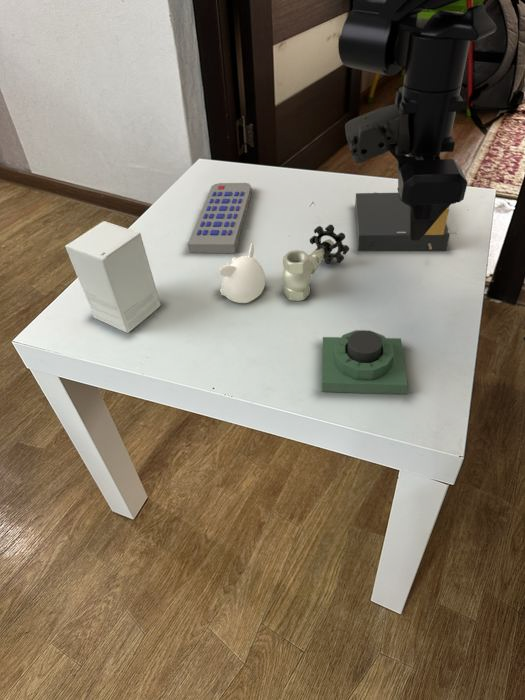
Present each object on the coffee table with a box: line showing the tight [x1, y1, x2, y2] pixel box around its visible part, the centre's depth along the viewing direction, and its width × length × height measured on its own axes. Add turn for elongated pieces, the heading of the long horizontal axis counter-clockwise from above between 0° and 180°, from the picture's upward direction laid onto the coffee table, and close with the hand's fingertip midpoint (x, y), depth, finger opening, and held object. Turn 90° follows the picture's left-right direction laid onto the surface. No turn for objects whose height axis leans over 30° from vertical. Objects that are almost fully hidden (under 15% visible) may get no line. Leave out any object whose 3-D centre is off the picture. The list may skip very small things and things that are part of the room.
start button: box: [347, 329, 382, 363], centre depth 60 cm, size 4×4×2 cm
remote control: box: [187, 182, 252, 254], centre depth 91 cm, size 8×23×2 cm, turn 173°
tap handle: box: [425, 206, 450, 235], centre depth 77 cm, size 5×1×5 cm, turn 84°
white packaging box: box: [64, 220, 161, 334], centre depth 70 cm, size 7×7×13 cm
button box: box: [321, 329, 409, 395], centre depth 61 cm, size 10×8×4 cm
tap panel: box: [354, 192, 458, 252], centre depth 83 cm, size 15×18×3 cm
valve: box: [281, 224, 350, 302], centre depth 74 cm, size 7×7×12 cm
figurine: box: [218, 242, 266, 304], centre depth 73 cm, size 8×6×7 cm
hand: (409, 219), depth 62 cm, fingers open, 9 cm apart
